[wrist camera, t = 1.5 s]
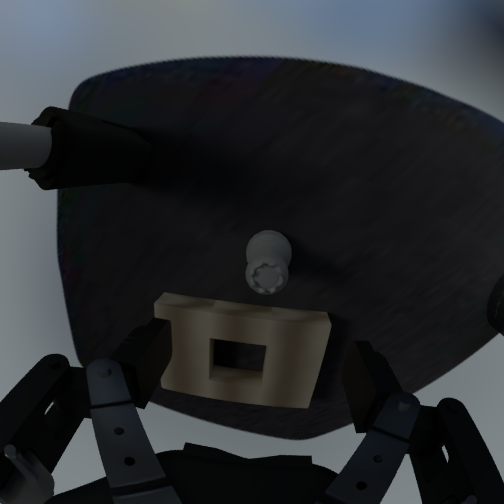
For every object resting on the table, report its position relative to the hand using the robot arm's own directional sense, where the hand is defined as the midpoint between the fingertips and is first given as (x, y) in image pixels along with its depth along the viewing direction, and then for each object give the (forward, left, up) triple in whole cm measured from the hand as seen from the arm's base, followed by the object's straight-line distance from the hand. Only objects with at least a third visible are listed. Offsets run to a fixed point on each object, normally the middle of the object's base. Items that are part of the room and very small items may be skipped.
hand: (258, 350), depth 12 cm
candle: (+16, -9, -17) cm, 25 cm away
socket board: (+2, +12, -17) cm, 21 cm away
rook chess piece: (0, 0, -17) cm, 17 cm away
